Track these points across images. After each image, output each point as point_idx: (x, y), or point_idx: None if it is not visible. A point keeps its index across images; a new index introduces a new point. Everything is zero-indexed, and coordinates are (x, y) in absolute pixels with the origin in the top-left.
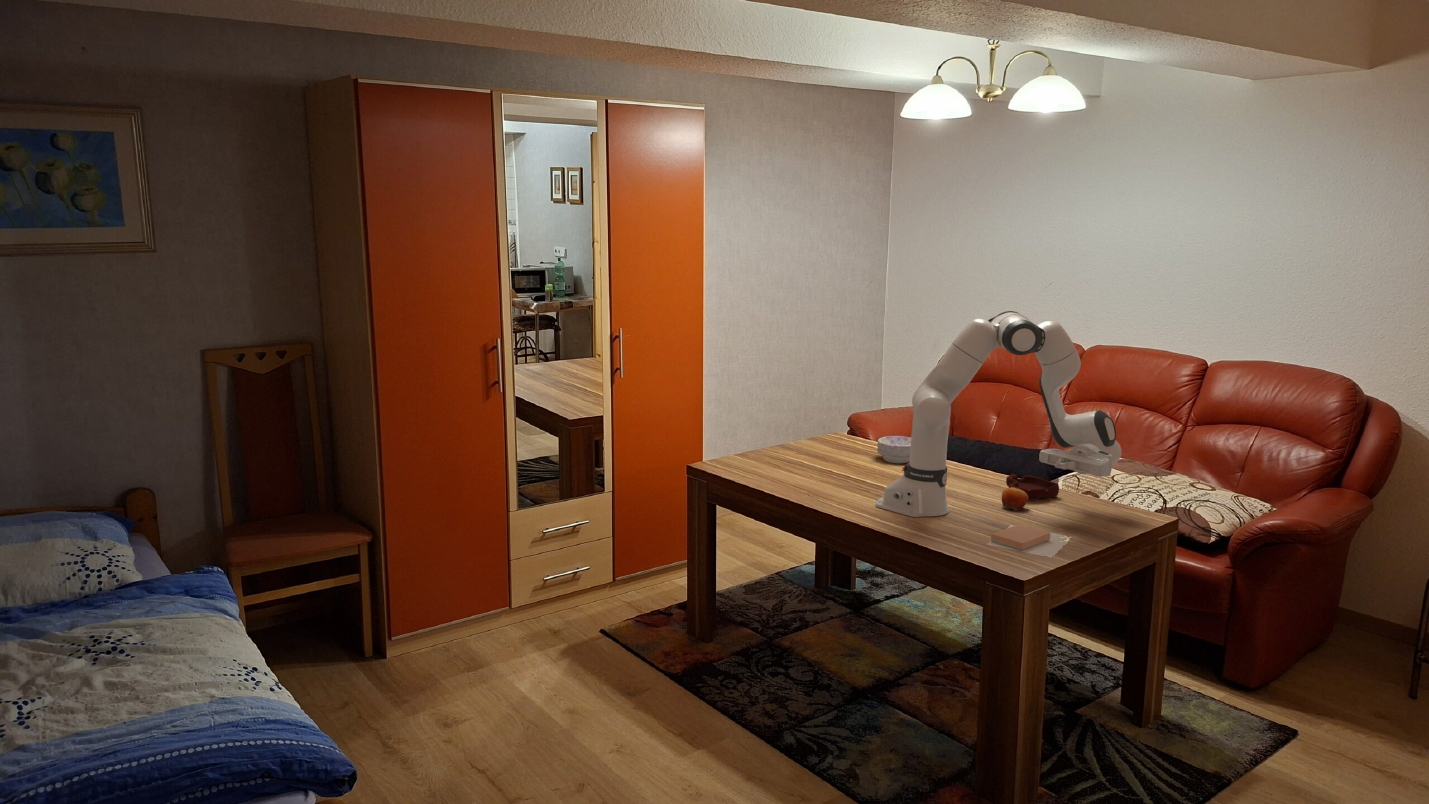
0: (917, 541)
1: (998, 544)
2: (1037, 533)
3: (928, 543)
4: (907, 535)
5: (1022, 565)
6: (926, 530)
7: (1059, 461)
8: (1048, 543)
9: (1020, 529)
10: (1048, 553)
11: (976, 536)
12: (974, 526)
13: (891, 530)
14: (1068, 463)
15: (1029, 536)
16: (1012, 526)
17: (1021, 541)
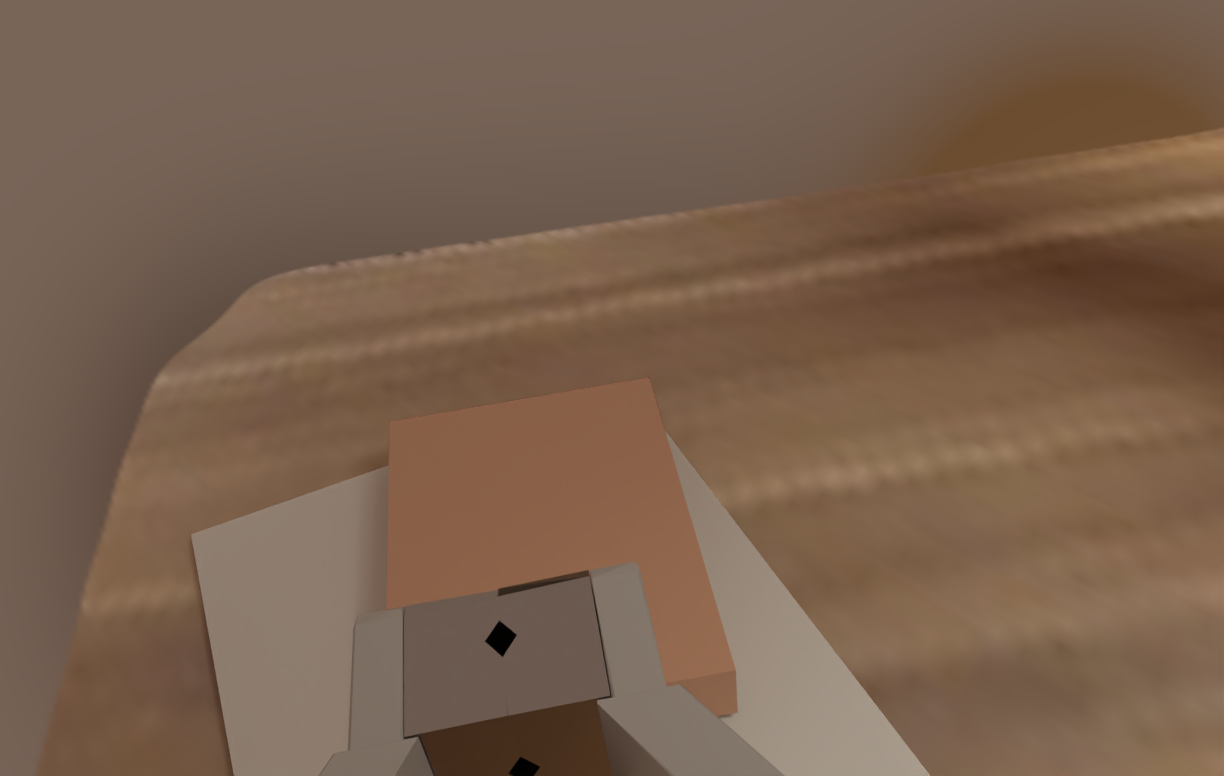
0: (861, 197)
1: None
2: None
3: (810, 217)
4: (970, 198)
5: (280, 372)
6: (1028, 282)
7: (601, 643)
8: None
9: None
10: (249, 570)
11: (806, 429)
12: (1029, 531)
13: (1077, 178)
14: (332, 761)
15: (446, 532)
16: (707, 576)
17: (416, 435)
